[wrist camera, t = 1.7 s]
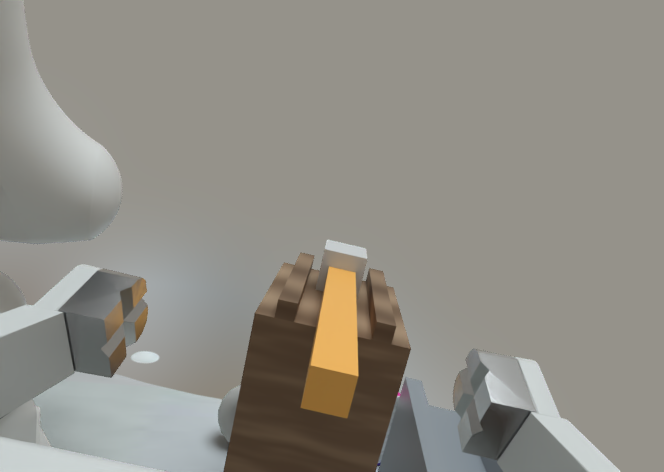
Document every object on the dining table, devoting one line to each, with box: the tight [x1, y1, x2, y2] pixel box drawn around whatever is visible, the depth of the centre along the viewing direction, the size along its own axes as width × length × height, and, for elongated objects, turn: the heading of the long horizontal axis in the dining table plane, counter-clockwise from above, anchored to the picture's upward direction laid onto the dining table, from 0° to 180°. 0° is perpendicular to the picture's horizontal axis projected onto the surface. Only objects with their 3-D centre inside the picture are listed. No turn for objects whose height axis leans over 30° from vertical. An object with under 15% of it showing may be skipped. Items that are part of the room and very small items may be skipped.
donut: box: [218, 385, 241, 442], centre depth 58 cm, size 10×4×10 cm, turn 82°
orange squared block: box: [301, 240, 367, 418], centre depth 32 cm, size 22×4×4 cm, turn 177°
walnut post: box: [224, 253, 411, 472], centre depth 42 cm, size 14×12×32 cm
